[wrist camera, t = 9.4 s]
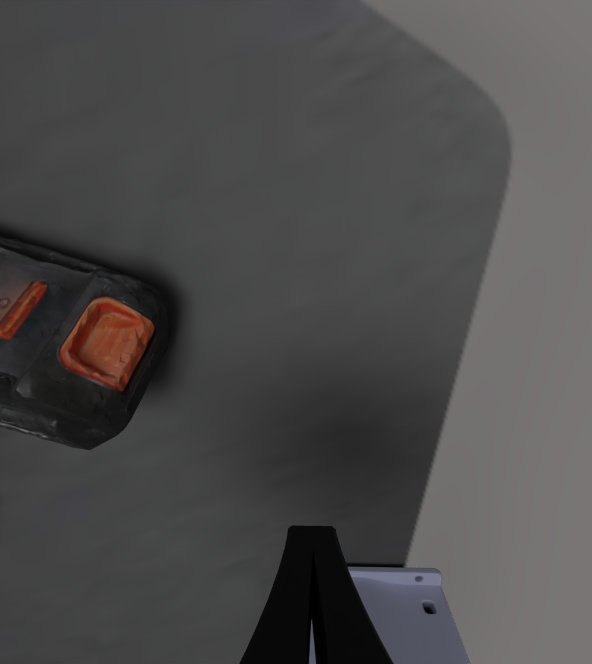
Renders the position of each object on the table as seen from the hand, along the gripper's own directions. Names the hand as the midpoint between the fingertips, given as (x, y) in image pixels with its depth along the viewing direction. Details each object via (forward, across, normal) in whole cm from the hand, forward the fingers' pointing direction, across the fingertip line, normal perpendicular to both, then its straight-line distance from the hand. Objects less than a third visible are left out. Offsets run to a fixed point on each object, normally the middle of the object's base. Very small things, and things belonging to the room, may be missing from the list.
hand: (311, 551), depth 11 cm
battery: (+10, +12, -5) cm, 17 cm away
